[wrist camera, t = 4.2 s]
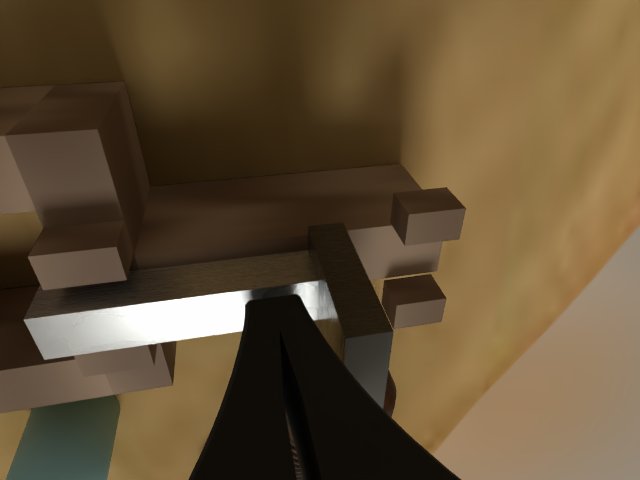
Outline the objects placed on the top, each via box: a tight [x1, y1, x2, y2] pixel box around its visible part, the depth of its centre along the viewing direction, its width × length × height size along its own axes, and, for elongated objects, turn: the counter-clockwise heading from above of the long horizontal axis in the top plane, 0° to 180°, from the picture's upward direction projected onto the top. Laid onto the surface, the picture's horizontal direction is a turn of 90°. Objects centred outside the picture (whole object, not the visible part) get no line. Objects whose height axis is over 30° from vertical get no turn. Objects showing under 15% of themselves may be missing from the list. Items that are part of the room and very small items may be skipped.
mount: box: [0, 81, 466, 413], centre depth 14 cm, size 18×9×5 cm, turn 90°
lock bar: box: [23, 222, 393, 409], centre depth 11 cm, size 8×3×4 cm, turn 90°
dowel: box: [6, 395, 120, 480], centre depth 18 cm, size 4×4×6 cm
